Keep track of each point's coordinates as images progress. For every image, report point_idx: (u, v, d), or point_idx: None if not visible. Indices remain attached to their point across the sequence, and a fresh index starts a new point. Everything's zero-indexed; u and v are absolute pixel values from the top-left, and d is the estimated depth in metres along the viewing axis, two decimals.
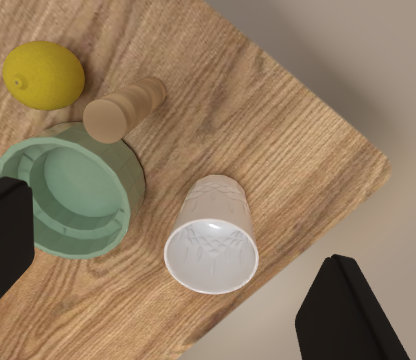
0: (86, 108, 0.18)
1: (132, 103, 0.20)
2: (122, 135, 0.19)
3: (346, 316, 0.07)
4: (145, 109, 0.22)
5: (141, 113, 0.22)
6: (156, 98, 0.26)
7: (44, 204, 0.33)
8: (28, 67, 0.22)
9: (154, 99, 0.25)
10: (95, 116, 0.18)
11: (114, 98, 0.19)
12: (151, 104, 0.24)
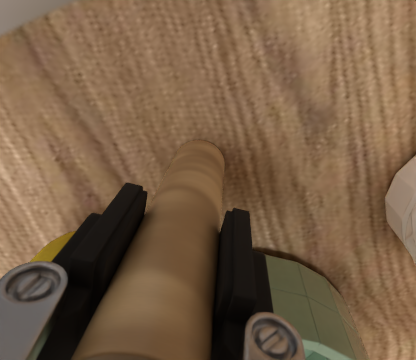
0: None
1: (155, 268, 0.07)
2: None
3: (223, 253, 0.08)
4: (201, 225, 0.09)
5: (198, 249, 0.08)
6: (205, 174, 0.12)
7: None
8: None
9: (203, 181, 0.12)
10: None
11: (100, 318, 0.06)
12: (205, 197, 0.11)
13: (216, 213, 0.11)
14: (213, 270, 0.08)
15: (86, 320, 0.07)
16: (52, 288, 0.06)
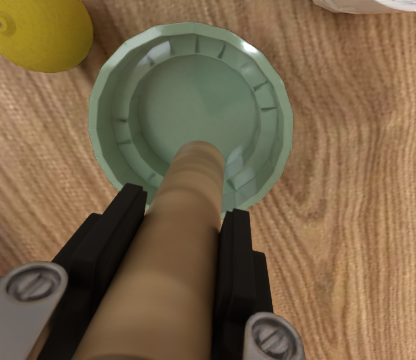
0: None
1: (155, 269, 0.07)
2: None
3: (223, 253, 0.08)
4: (201, 226, 0.09)
5: (198, 250, 0.08)
6: (205, 175, 0.12)
7: None
8: None
9: (203, 182, 0.12)
10: None
11: (100, 319, 0.06)
12: (205, 198, 0.11)
13: (216, 214, 0.11)
14: (213, 271, 0.08)
15: (86, 320, 0.07)
16: (52, 288, 0.06)
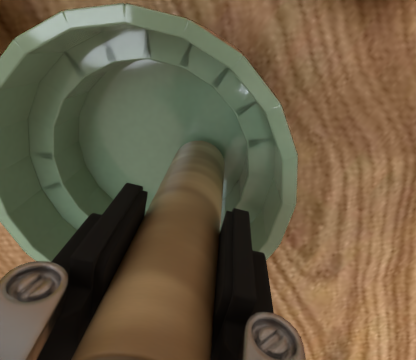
0: None
1: (155, 269, 0.07)
2: None
3: (222, 253, 0.08)
4: (200, 226, 0.09)
5: (198, 250, 0.08)
6: (205, 175, 0.12)
7: None
8: None
9: (203, 182, 0.12)
10: None
11: (100, 319, 0.06)
12: (205, 198, 0.11)
13: (216, 214, 0.11)
14: (213, 271, 0.08)
15: (86, 320, 0.07)
16: (52, 288, 0.06)
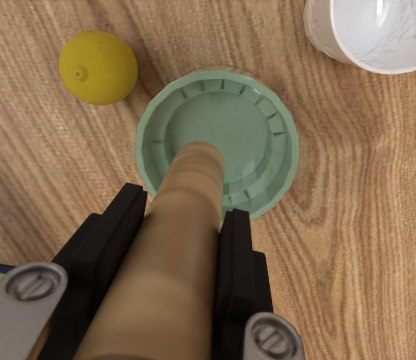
0: None
1: (156, 270, 0.07)
2: None
3: (222, 253, 0.08)
4: (201, 227, 0.09)
5: (199, 250, 0.08)
6: (206, 175, 0.12)
7: None
8: (73, 54, 0.21)
9: (203, 182, 0.12)
10: None
11: (101, 320, 0.06)
12: (205, 198, 0.11)
13: (216, 214, 0.11)
14: (213, 272, 0.08)
15: (86, 320, 0.07)
16: (52, 288, 0.06)
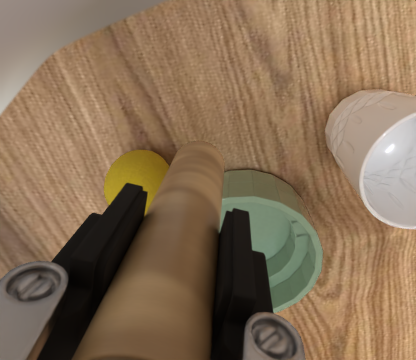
0: None
1: (155, 270, 0.07)
2: None
3: (222, 253, 0.08)
4: (200, 227, 0.09)
5: (198, 251, 0.08)
6: (205, 175, 0.12)
7: None
8: (120, 187, 0.23)
9: (203, 182, 0.12)
10: None
11: (100, 320, 0.06)
12: (205, 198, 0.11)
13: (216, 214, 0.11)
14: (213, 272, 0.08)
15: (86, 320, 0.07)
16: (52, 288, 0.06)
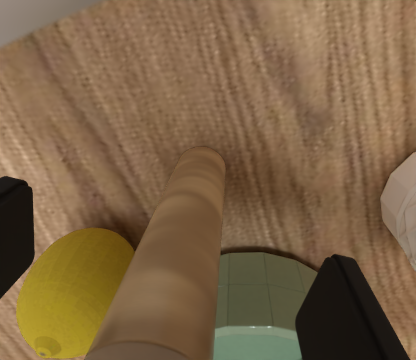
0: None
1: (164, 267, 0.08)
2: None
3: (346, 316, 0.07)
4: (204, 229, 0.10)
5: (202, 250, 0.09)
6: (208, 180, 0.13)
7: None
8: (36, 320, 0.13)
9: (206, 187, 0.12)
10: None
11: (116, 311, 0.07)
12: (208, 202, 0.11)
13: (218, 217, 0.11)
14: (216, 270, 0.09)
15: None
16: None
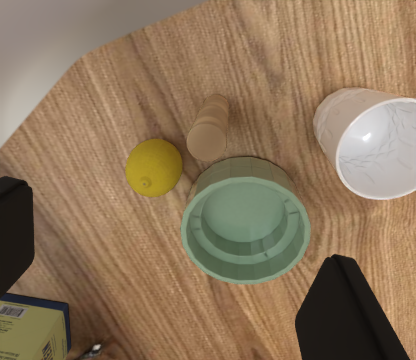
0: (188, 147, 0.21)
1: (209, 116, 0.22)
2: (224, 138, 0.21)
3: (346, 316, 0.07)
4: (221, 113, 0.24)
5: (221, 117, 0.23)
6: (221, 103, 0.27)
7: (236, 251, 0.36)
8: (140, 169, 0.27)
9: (220, 105, 0.27)
10: (198, 146, 0.21)
11: (196, 123, 0.21)
12: (222, 109, 0.26)
13: (226, 115, 0.26)
14: (226, 125, 0.23)
15: None
16: None
